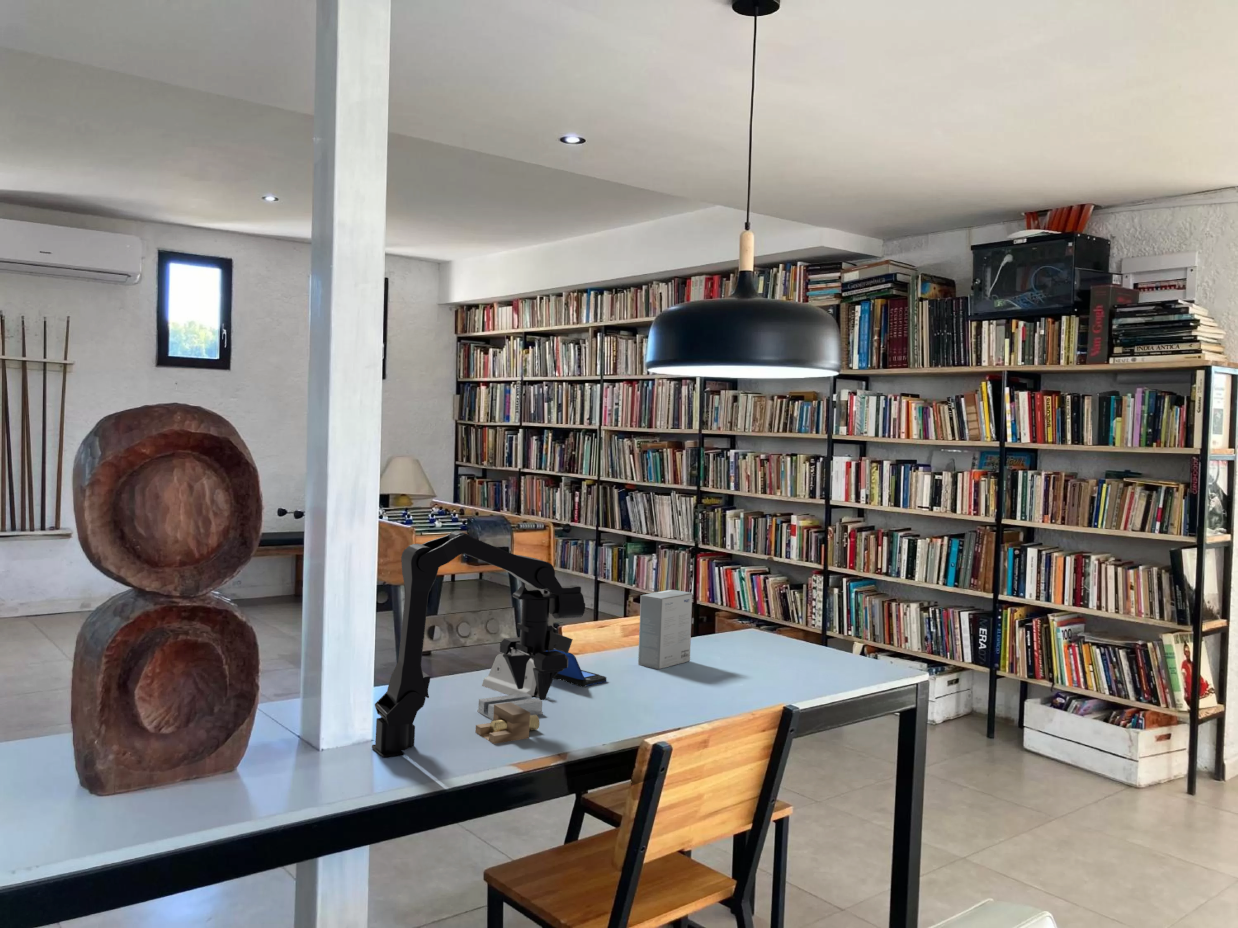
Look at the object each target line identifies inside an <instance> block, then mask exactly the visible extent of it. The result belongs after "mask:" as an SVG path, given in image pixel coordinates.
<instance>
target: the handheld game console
mask: <svg viewBox="0 0 1238 928" xmlns="http://www.w3.org/2000/svg"><path fill="white" fill-rule="evenodd" d="M553 651H558V652H561V653H563V654H565V655H566V656H567V657H568V668H564V670H563V671H559V672H558V673H557V674H556V675H555V676H554V678H553V680H558V679H561V680H560V681H563V680H564V681H563V682H566V681H567V682H566V683H568V684H571V683H572V685H574V686H578V687H581V686H582V688H585V687H588V686H592V685H593V684H594V685H598V684H603V683H606V682H607V681H608V680H607V676H604V675H601V674H598V673H595V672H590V671H587V670H584V669H581V667H580V664H579V662H578V659H577V657H576V656H575V655H574V653H571V652H570V651H569V652H568V653H565V652H564V651H562V650H561V651H560V650H558V649H555V648H554V650H553ZM546 652H548V650H547V651H546ZM602 682H603V683H602ZM597 683H598V684H597ZM594 685H593V686H594Z"/></svg>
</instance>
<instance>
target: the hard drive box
mask: <svg viewBox="0 0 1238 928" xmlns="http://www.w3.org/2000/svg"><path fill="white" fill-rule="evenodd" d="M639 605H640V608H639V627H638V628H639V630H638V631H639V633H638V636H639V637H638V657H637V659H638V660H637V664H638V666H642V667H647V668H651V669H656V670H661V669H665V668H668V667H672V666H677V665H680V664H684V663H687V662H690V661H691V641H692V637H691V636H692V615H693V614H692V612H693V593H692V592H690V591H683V590H678V589H677V590H676V589H668V590H662V591H657V592H651V593H646V594H645V593H644V594H642V595H641V594H640V603H639Z"/></svg>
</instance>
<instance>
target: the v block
mask: <svg viewBox="0 0 1238 928" xmlns="http://www.w3.org/2000/svg"><path fill="white" fill-rule="evenodd" d="M510 702H511V703H513V704H515V705H517V706H519V707H521V708H523V709H524V710H526V711H528V712H530V715H537V716H541V715H543V713H544V712H543V700H540V699H539V698H538V697H535V698H533V696H532V695H529V694H527V693H523V694H515V695H507V694H506V695H501V696H494V697H485V698H478V707H477V708H478V709H477V712H478V713H479V714H480V715H482V716H484V717H486V718H487V719H489V720H491V721H493V716H494V705H496V704H503V703H510Z"/></svg>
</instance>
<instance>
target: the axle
mask: <svg viewBox="0 0 1238 928" xmlns="http://www.w3.org/2000/svg"><path fill="white" fill-rule="evenodd" d="M489 723H490V732H491V733H493V732H499V731H506V730H507V721H506V720H505V719H502V720H496V721H493V720H491V721H490V722H489ZM539 728H540V718H539V715H530V725H529V732H530V731H535V730H538V729H539Z"/></svg>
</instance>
